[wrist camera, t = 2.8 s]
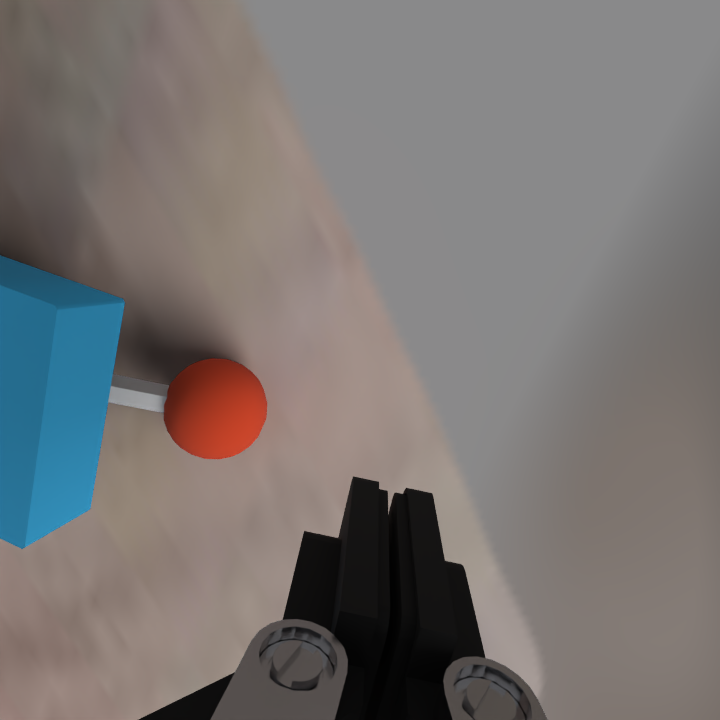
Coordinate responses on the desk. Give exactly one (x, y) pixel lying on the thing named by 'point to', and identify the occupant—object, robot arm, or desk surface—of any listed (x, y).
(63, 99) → the desk surface
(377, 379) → the desk surface
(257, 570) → the desk surface
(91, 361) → the lever
